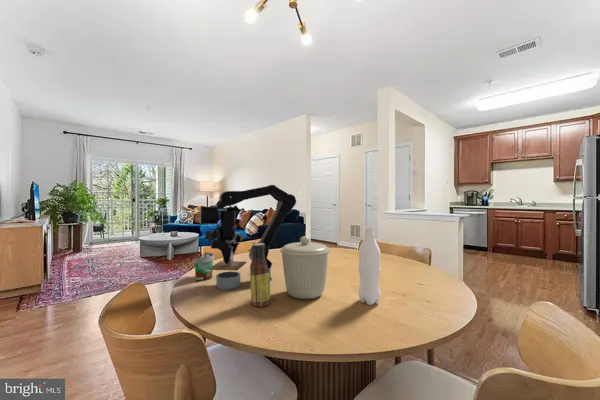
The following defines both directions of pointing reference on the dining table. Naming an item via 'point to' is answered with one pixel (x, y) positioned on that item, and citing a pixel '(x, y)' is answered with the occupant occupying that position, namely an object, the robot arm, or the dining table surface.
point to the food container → (203, 267)
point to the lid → (228, 265)
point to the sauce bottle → (259, 277)
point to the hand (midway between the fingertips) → (228, 262)
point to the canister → (305, 268)
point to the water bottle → (369, 268)
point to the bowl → (228, 280)
